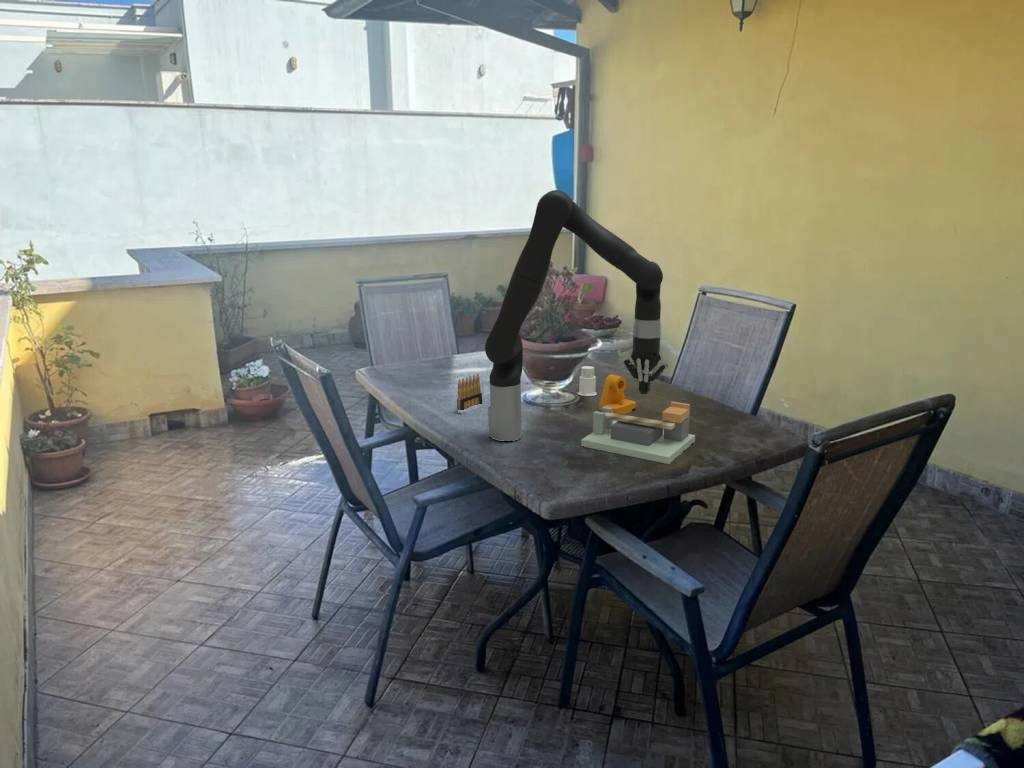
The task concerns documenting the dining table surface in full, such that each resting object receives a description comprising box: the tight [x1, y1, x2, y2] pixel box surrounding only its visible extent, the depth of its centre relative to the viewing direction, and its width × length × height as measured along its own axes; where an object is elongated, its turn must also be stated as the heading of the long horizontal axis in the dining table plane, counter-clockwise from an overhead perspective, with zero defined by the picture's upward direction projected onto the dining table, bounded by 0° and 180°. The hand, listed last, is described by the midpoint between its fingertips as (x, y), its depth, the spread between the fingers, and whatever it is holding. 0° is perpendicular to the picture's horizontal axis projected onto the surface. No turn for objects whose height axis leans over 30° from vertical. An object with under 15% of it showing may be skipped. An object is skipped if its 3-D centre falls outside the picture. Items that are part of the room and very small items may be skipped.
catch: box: [661, 401, 691, 423], centre depth 206 cm, size 6×7×4 cm
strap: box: [604, 411, 675, 430], centre depth 208 cm, size 23×3×2 cm, turn 56°
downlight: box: [577, 365, 598, 397], centre depth 257 cm, size 8×7×10 cm
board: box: [580, 406, 696, 465], centre depth 208 cm, size 27×20×8 cm
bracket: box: [598, 373, 637, 415], centre depth 238 cm, size 11×7×12 cm, turn 130°
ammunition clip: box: [456, 373, 483, 410], centre depth 242 cm, size 11×2×12 cm, turn 139°
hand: (644, 393), depth 204 cm, fingers closed
